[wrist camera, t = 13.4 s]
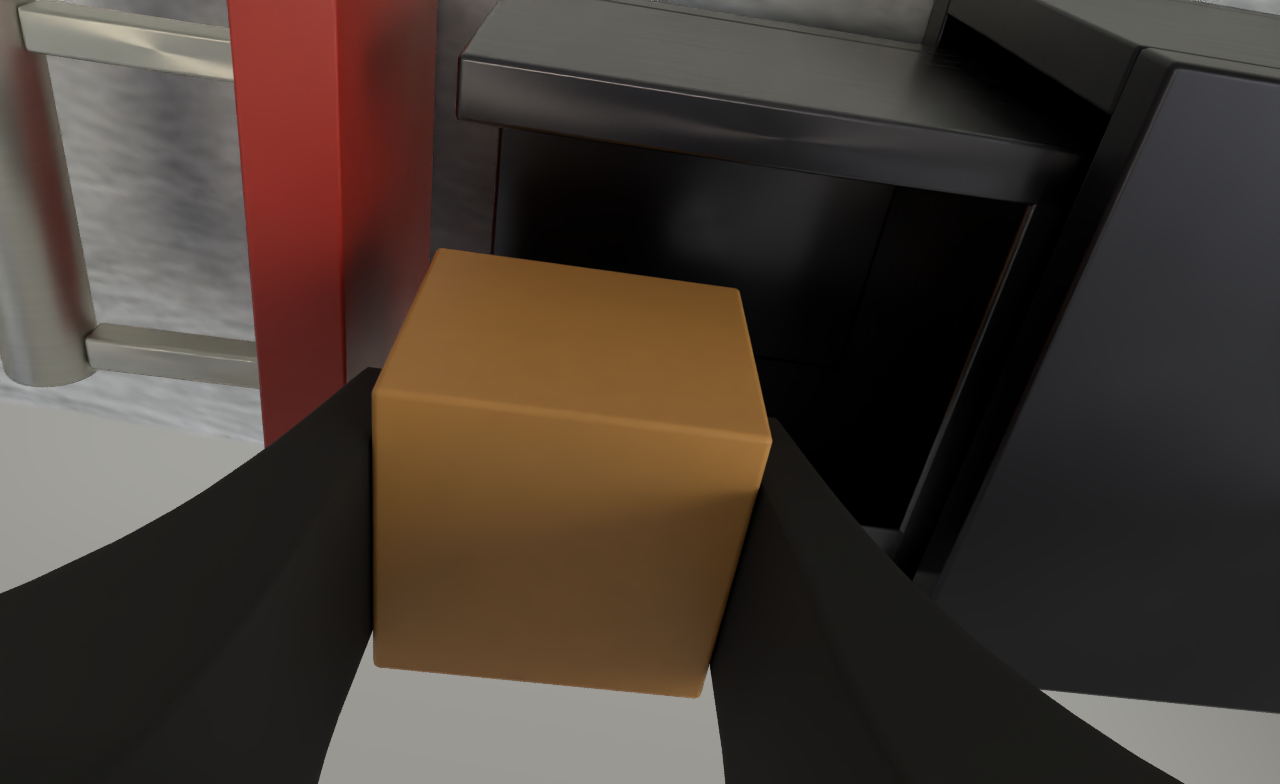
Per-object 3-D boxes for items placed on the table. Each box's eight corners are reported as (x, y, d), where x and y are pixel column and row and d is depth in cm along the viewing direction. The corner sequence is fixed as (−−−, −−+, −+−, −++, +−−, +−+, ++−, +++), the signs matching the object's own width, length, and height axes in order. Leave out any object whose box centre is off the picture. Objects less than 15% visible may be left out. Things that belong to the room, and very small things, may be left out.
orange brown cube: (686, 516, 14) (700, 702, 11) (427, 486, 14) (371, 670, 11) (741, 286, 12) (775, 439, 9) (437, 244, 12) (369, 388, 9)
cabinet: (812, 401, 21) (896, 677, 15) (947, -43, 16) (1175, 61, 9) (1270, 459, 22) (1550, 743, 16) (1531, 59, 17) (2119, 218, 10)
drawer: (133, 313, 19) (-62, 506, 14) (57, -148, 15) (-276, -128, 9) (845, 404, 20) (921, 612, 15) (976, 6, 16) (1148, 102, 11)
